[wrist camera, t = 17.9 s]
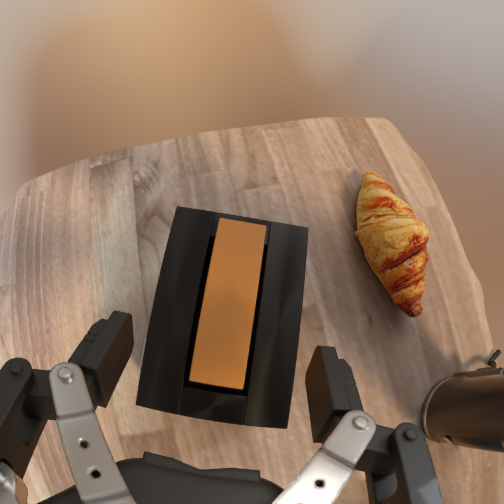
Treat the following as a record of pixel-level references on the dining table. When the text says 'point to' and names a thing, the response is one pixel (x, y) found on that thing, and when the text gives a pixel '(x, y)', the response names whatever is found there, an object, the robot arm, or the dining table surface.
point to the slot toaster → (187, 320)
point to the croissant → (392, 242)
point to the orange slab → (228, 305)
